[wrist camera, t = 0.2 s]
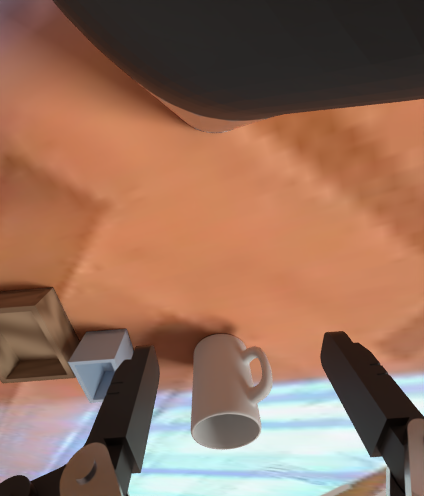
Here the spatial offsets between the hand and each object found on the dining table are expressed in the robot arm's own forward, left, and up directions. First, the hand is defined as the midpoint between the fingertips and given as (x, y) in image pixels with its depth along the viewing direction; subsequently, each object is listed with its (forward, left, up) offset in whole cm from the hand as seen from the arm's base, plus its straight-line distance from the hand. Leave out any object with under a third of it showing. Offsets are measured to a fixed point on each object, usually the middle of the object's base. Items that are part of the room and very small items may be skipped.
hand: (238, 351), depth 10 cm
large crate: (+14, -28, -17) cm, 35 cm away
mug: (+21, 0, -18) cm, 27 cm away
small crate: (+20, -18, -17) cm, 32 cm away
